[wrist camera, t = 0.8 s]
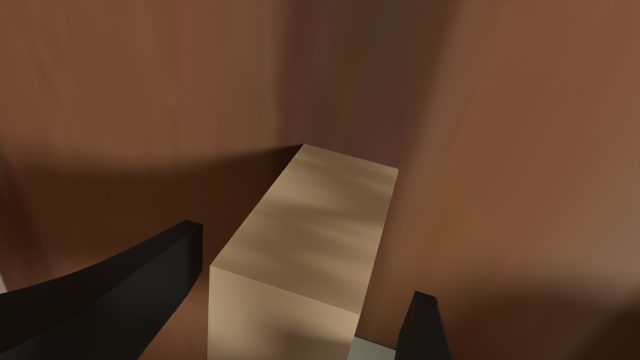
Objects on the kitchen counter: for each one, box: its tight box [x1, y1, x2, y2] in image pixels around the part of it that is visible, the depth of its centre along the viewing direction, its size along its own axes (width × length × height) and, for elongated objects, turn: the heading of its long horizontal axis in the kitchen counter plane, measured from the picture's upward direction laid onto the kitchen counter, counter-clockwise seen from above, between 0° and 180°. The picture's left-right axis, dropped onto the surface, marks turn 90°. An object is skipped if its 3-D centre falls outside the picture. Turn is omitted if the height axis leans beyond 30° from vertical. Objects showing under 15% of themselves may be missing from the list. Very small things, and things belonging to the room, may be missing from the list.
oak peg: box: [207, 144, 399, 360], centre depth 15 cm, size 4×4×8 cm
